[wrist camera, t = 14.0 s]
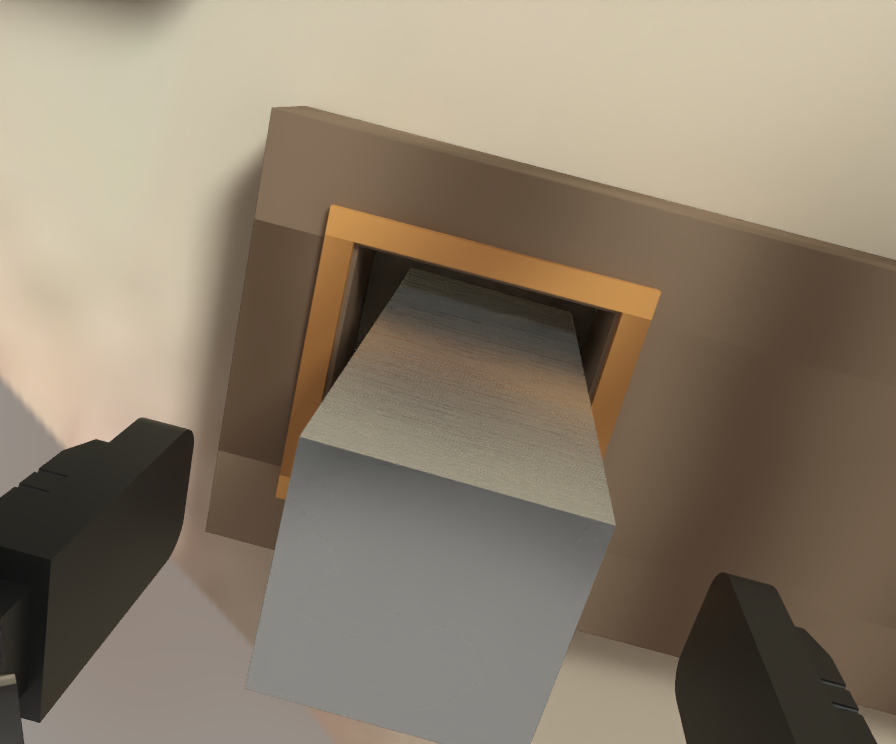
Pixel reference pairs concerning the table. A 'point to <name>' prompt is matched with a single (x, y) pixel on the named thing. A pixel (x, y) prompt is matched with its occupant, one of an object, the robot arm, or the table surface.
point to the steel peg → (440, 522)
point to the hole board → (605, 372)
